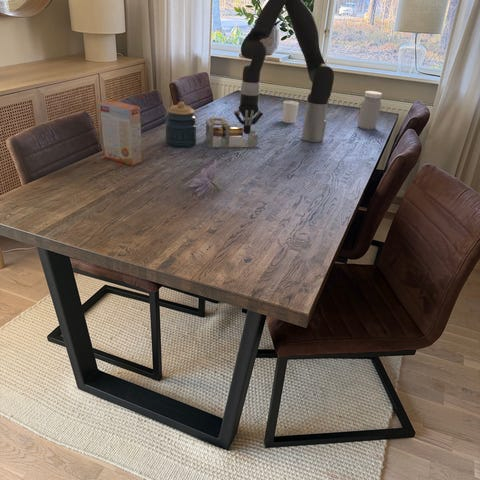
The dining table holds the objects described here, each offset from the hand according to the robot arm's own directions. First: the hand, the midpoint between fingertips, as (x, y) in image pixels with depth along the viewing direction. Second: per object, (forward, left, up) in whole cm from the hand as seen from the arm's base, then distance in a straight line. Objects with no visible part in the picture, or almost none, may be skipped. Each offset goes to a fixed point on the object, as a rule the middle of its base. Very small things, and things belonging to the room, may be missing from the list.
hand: (246, 133), depth 192 cm
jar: (-73, -26, -5) cm, 77 cm away
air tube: (+9, 0, -1) cm, 9 cm away
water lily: (+26, +48, -5) cm, 55 cm away
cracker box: (+52, +18, -5) cm, 56 cm away
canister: (+28, -1, -5) cm, 29 cm away
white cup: (-33, -36, -5) cm, 49 cm away
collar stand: (+6, 0, -5) cm, 8 cm away
